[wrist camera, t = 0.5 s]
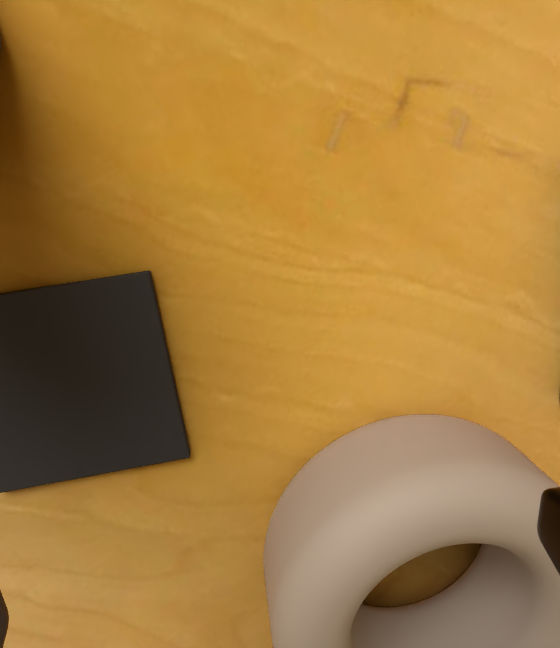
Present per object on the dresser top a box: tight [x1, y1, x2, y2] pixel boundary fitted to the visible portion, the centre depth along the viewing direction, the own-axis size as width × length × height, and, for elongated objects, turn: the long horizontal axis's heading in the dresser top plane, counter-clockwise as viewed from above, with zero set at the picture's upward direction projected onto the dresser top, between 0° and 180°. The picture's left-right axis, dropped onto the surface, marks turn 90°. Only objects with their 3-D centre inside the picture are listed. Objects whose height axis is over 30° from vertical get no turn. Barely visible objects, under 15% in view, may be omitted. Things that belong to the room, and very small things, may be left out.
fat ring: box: [263, 414, 560, 648], centre depth 23 cm, size 15×15×7 cm
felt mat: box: [0, 271, 190, 493], centre depth 21 cm, size 9×9×1 cm
